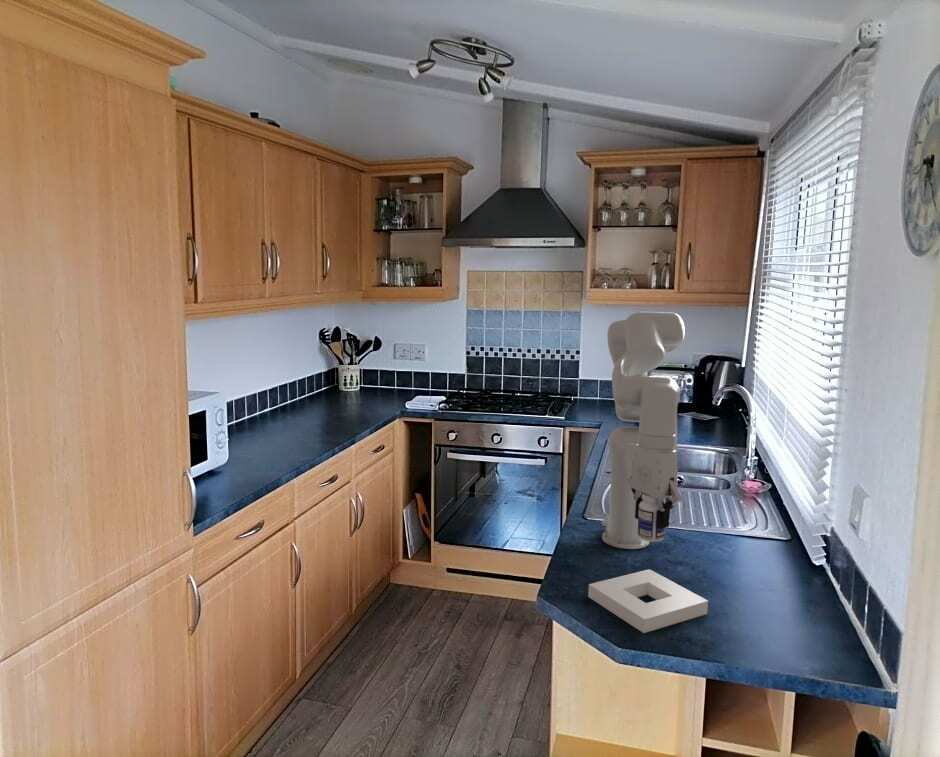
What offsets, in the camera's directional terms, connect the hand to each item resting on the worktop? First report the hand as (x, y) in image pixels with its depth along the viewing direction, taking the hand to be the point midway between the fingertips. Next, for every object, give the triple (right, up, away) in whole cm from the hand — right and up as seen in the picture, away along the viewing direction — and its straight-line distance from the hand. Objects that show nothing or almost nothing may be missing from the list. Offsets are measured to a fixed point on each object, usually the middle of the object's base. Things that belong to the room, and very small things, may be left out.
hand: (651, 521), depth 153 cm
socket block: (0, -19, +3) cm, 19 cm away
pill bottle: (0, -4, +1) cm, 4 cm away
